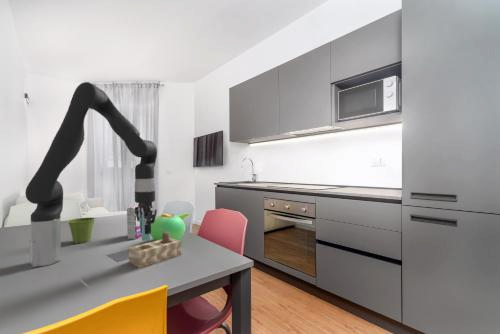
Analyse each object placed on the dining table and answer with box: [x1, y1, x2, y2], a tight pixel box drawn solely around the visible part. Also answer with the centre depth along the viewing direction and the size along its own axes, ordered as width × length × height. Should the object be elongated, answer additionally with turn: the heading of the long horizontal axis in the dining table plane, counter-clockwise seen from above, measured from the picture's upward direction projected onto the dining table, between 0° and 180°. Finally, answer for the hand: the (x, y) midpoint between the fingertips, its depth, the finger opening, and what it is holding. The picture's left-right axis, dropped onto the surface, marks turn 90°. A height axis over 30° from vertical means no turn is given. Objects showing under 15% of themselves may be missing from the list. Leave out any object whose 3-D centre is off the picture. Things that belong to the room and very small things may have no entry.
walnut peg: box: [162, 231, 170, 244], centre depth 105 cm, size 3×3×10 cm
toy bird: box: [150, 212, 191, 241], centre depth 125 cm, size 18×17×15 cm
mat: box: [105, 248, 129, 263], centre depth 106 cm, size 12×12×1 cm
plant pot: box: [67, 217, 96, 244], centre depth 126 cm, size 12×12×11 cm
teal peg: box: [141, 215, 151, 242], centre depth 98 cm, size 3×3×10 cm
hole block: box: [128, 238, 182, 269], centre depth 102 cm, size 18×9×6 cm, turn 140°
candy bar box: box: [126, 204, 142, 240], centre depth 134 cm, size 11×5×16 cm, turn 179°
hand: (145, 232), depth 98 cm, fingers closed on teal peg, 3 cm apart
